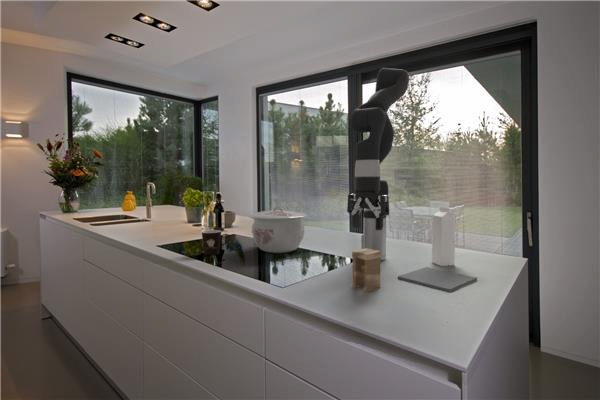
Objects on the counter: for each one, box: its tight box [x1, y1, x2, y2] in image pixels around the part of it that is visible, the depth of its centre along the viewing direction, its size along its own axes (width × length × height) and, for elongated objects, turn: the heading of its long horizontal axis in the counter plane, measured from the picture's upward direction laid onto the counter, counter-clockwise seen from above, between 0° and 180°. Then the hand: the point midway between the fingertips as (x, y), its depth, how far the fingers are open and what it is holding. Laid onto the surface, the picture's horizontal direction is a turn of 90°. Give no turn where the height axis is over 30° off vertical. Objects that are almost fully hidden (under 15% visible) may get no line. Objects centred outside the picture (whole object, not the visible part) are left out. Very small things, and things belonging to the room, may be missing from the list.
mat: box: [397, 266, 478, 293], centre depth 115 cm, size 18×18×1 cm
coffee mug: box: [201, 229, 231, 256], centre depth 156 cm, size 12×9×10 cm
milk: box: [431, 206, 457, 267], centre depth 135 cm, size 6×6×22 cm
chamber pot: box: [248, 206, 309, 254], centre depth 162 cm, size 28×28×21 cm
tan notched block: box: [351, 248, 382, 293], centre depth 107 cm, size 6×6×11 cm
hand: (367, 228), depth 106 cm, fingers open, 8 cm apart
